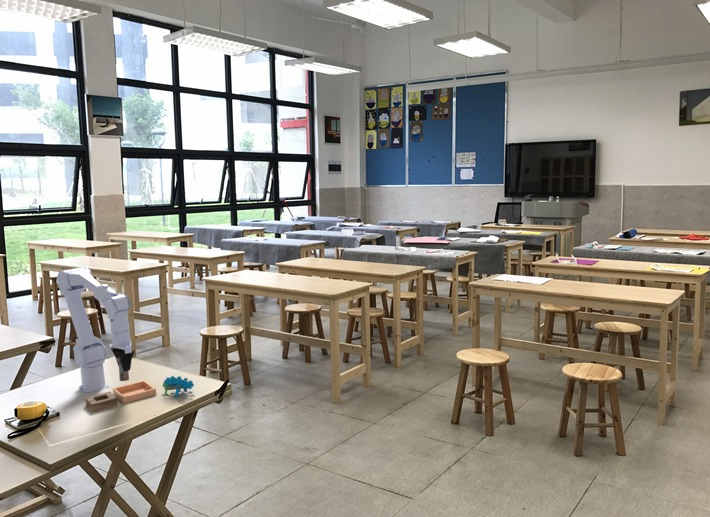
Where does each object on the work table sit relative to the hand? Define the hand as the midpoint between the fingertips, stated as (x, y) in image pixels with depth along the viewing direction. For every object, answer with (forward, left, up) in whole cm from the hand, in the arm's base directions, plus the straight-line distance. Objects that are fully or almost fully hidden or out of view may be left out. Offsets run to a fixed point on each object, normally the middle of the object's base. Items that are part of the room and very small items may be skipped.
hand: (124, 368), depth 207 cm
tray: (-1, +3, -10) cm, 11 cm away
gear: (+9, +15, -11) cm, 20 cm away
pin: (0, -1, -4) cm, 4 cm away
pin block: (+1, -9, -10) cm, 14 cm away
